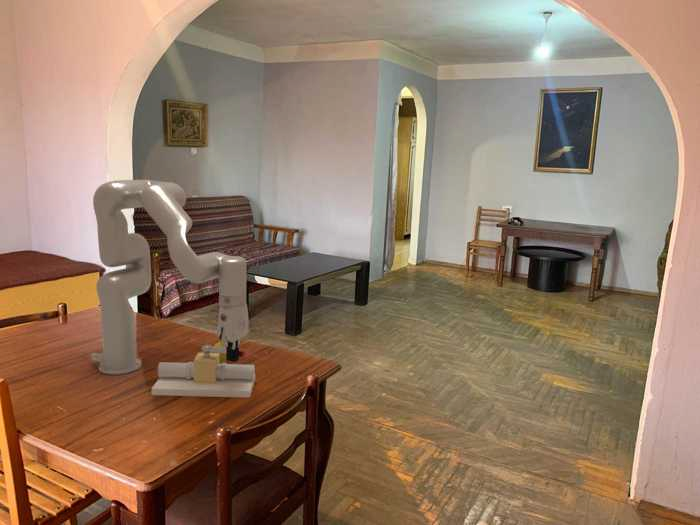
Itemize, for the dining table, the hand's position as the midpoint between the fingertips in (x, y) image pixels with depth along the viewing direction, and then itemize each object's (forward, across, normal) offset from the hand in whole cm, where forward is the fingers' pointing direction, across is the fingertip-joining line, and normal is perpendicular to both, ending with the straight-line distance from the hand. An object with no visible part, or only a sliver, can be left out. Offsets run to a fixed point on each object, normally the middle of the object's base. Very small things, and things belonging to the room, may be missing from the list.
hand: (232, 360), depth 156 cm
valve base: (+10, 0, +9) cm, 14 cm away
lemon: (+10, +17, +15) cm, 25 cm away
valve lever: (0, +3, +4) cm, 5 cm away
